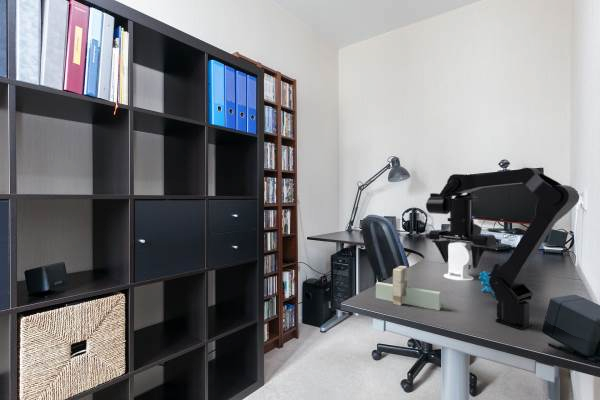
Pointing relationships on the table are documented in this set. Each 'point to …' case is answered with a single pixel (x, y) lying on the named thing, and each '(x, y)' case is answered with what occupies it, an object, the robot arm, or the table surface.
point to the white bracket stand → (459, 261)
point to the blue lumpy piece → (485, 281)
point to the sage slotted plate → (411, 296)
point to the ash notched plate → (399, 284)
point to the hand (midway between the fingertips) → (460, 265)
